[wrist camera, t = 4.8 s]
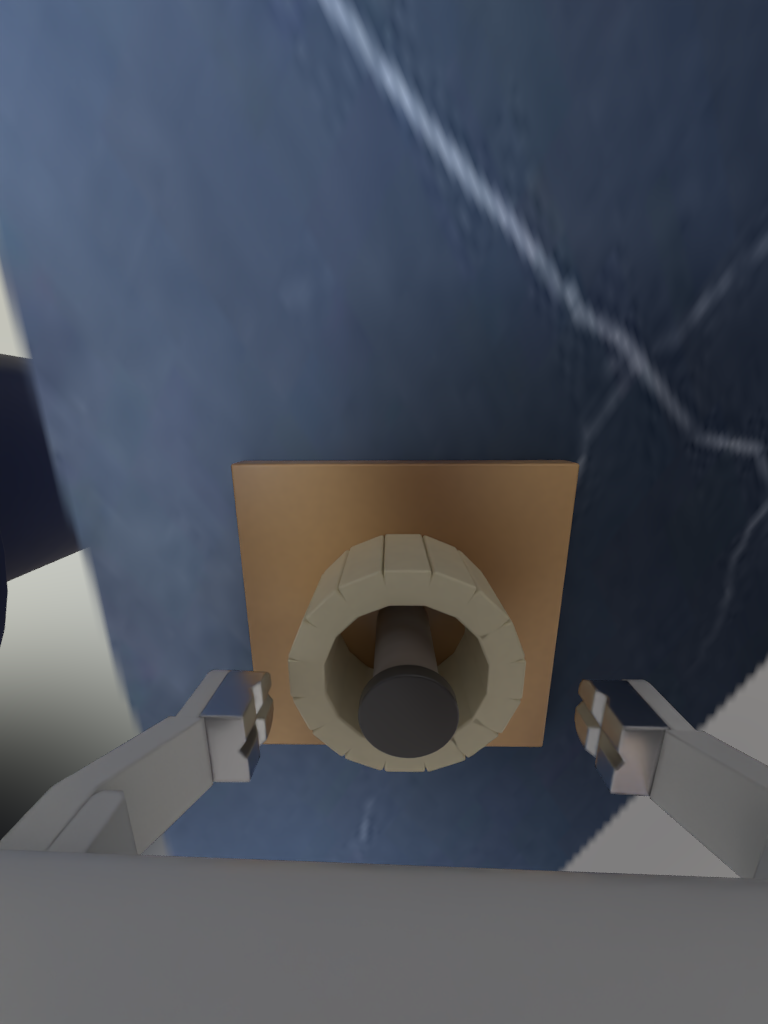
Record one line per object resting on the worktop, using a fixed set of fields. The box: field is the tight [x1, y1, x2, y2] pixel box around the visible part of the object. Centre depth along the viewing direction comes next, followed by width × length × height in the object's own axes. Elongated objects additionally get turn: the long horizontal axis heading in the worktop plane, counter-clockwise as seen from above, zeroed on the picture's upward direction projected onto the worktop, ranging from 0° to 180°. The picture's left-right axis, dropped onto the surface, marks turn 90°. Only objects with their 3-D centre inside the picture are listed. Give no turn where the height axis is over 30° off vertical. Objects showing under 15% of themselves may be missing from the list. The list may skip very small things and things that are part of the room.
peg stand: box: [231, 460, 579, 758], centre depth 11 cm, size 11×11×5 cm
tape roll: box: [288, 534, 526, 772], centre depth 11 cm, size 6×6×3 cm
